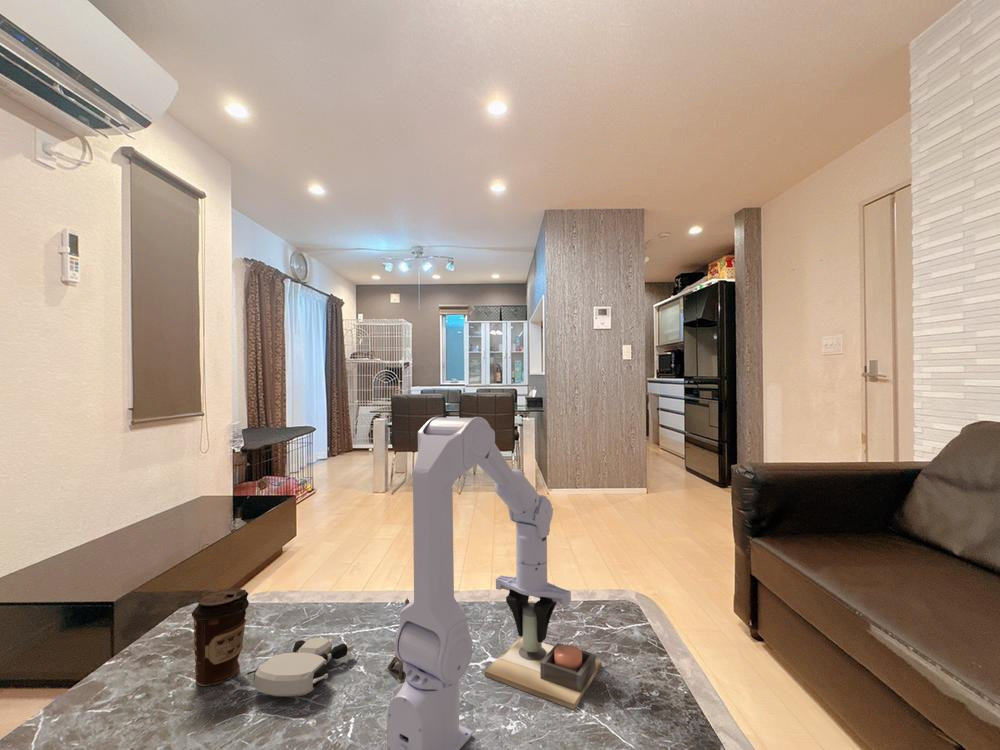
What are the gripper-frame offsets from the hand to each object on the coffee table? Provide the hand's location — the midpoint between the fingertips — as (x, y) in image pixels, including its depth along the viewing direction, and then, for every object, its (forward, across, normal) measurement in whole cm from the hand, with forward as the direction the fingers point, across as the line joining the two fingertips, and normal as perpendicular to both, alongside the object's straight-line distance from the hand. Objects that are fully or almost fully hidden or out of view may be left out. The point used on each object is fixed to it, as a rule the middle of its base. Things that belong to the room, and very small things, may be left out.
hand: (532, 636), depth 78 cm
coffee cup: (+4, +44, +32) cm, 54 cm away
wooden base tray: (+4, -4, +2) cm, 6 cm away
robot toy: (+4, +31, +25) cm, 40 cm away
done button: (+1, -8, +2) cm, 8 cm away
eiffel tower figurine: (+4, +17, +14) cm, 23 cm away
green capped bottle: (+2, 0, 0) cm, 2 cm away
